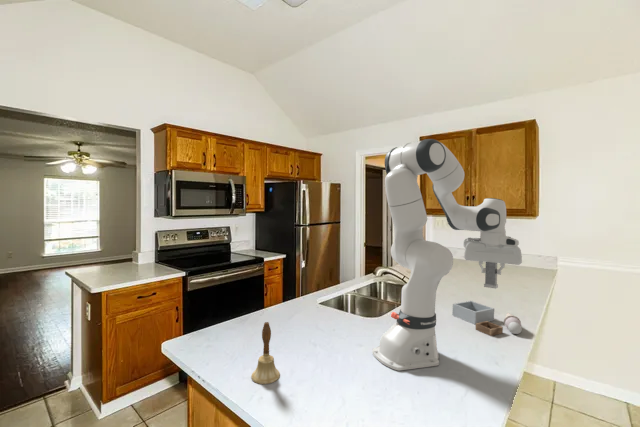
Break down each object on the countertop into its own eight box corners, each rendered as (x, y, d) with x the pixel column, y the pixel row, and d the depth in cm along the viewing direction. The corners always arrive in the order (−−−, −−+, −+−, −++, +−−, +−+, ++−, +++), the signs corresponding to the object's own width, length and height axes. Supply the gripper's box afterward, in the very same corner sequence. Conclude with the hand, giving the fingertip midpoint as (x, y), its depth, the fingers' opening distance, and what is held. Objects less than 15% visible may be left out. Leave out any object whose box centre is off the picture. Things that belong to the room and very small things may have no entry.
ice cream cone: (507, 321, 137) (516, 341, 123) (496, 312, 138) (503, 330, 124) (519, 312, 135) (529, 331, 121) (507, 303, 136) (515, 321, 122)
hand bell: (285, 375, 92) (286, 322, 91) (263, 388, 86) (263, 330, 85) (268, 365, 97) (268, 315, 97) (245, 376, 91) (245, 322, 91)
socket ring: (491, 336, 122) (491, 329, 122) (475, 329, 128) (475, 323, 128) (502, 333, 125) (502, 327, 125) (486, 326, 131) (487, 320, 131)
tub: (475, 324, 133) (475, 312, 133) (452, 315, 144) (452, 303, 144) (493, 320, 138) (494, 308, 138) (470, 311, 149) (470, 300, 149)
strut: (495, 288, 123) (496, 255, 123) (483, 286, 126) (484, 254, 126) (497, 287, 126) (498, 255, 127) (486, 285, 129) (487, 254, 129)
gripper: (464, 238, 126) (462, 271, 127) (523, 241, 118) (521, 278, 118) (463, 236, 132) (462, 269, 133) (520, 240, 124) (519, 274, 124)
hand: (491, 273), depth 125 cm, fingers closed on strut, 4 cm apart
